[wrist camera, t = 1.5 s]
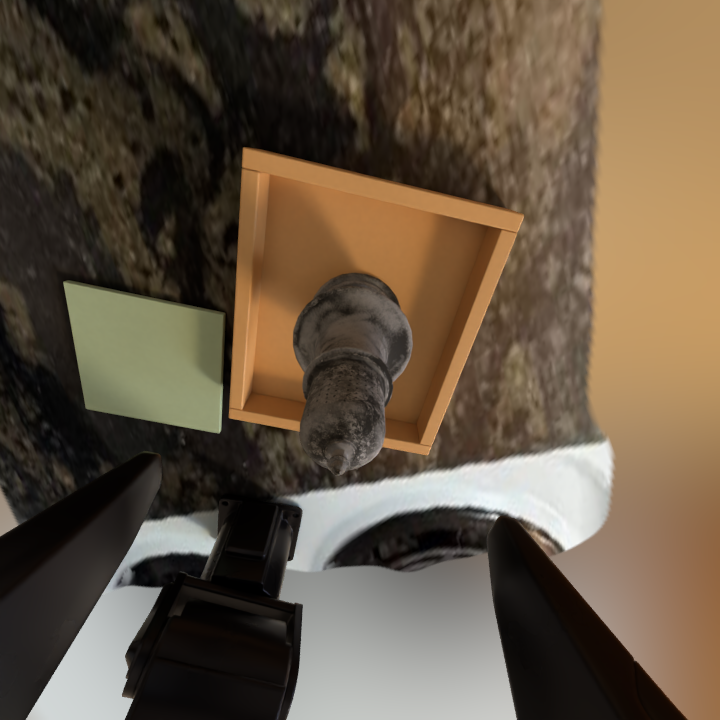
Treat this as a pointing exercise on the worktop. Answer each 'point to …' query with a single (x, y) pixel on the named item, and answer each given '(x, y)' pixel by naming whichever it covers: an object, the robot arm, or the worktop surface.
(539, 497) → the worktop surface
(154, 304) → the mat
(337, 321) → the stone finial
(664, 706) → the robot arm
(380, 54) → the worktop surface
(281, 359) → the tray
